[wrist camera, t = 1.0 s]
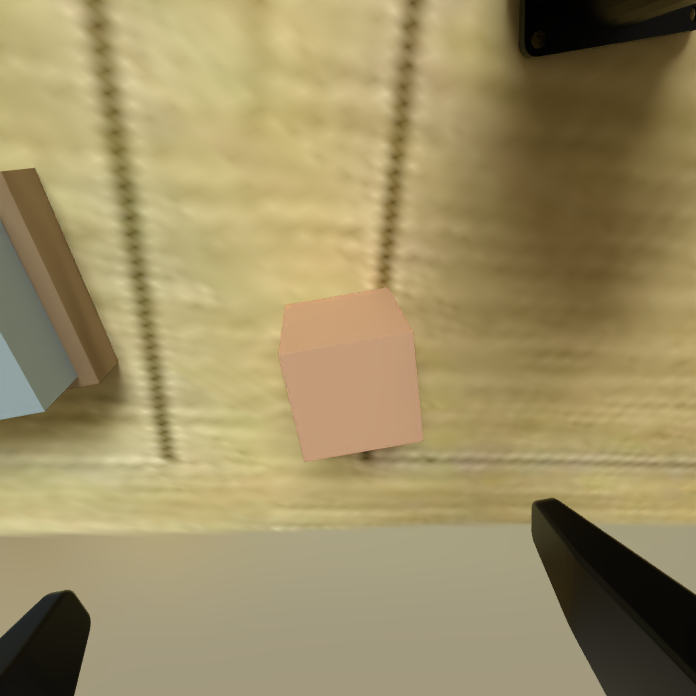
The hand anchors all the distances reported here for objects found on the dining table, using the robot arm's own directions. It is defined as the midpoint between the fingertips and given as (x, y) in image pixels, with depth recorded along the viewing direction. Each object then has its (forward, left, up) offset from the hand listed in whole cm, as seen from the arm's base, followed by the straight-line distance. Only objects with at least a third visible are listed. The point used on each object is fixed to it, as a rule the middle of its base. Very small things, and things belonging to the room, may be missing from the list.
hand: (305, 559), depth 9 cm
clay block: (-1, +1, -12) cm, 12 cm away
